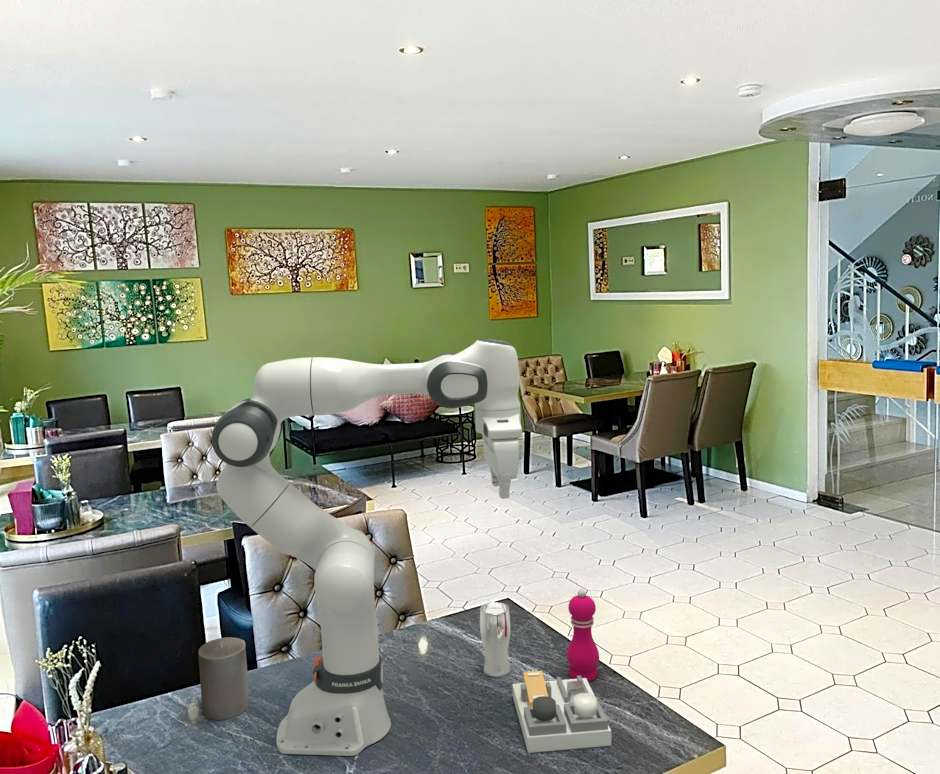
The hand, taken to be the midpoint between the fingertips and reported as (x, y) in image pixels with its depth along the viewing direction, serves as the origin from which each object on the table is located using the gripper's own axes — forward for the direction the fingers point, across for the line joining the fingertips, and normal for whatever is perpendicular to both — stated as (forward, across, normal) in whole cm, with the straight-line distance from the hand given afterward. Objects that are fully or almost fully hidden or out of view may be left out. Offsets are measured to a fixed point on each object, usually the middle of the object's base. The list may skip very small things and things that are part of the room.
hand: (500, 491), depth 150 cm
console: (+47, +3, +10) cm, 48 cm away
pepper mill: (+48, -14, +20) cm, 53 cm away
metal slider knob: (+44, +1, +14) cm, 46 cm away
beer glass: (+47, -19, +1) cm, 51 cm away
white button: (+42, +9, +14) cm, 45 cm away
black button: (+42, +9, +6) cm, 44 cm away
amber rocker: (+42, 0, +6) cm, 42 cm away
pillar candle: (+47, -14, -58) cm, 77 cm away
